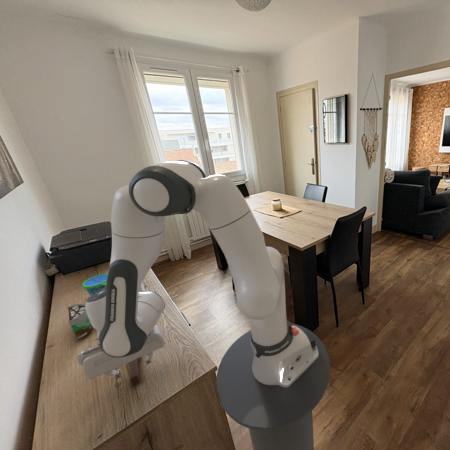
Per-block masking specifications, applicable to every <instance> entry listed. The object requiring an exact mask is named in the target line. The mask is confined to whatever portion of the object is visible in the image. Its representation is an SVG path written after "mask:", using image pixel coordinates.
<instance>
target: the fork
mask: <svg viewBox="0 0 450 450" xmlns="http://www.w3.org/2000/svg"><path fill="white" fill-rule="evenodd" d="M142 359H143V356H142V357H140V358H138V359H135V360H133V361H131V362H129V363H128V365H129V379H130V382H131V384H132V386H135V385H138V384H139V383H140V382H141V375H140V361H141V360H142Z"/></svg>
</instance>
